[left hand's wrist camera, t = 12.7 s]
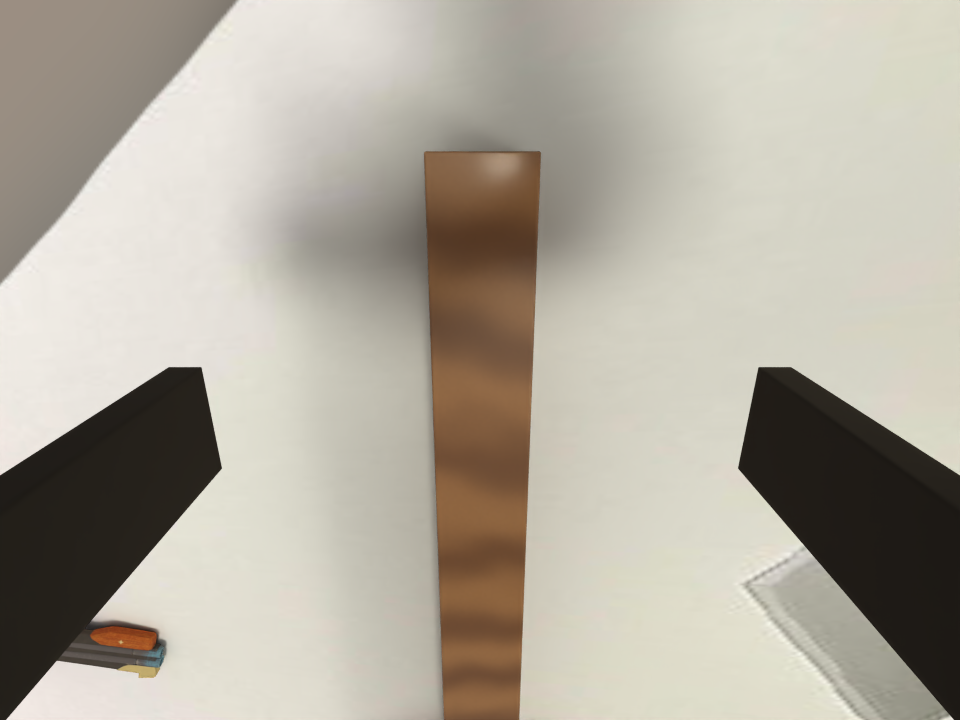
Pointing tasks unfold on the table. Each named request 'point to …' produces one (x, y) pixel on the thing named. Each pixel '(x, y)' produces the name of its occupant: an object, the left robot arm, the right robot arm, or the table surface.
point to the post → (482, 414)
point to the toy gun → (117, 650)
